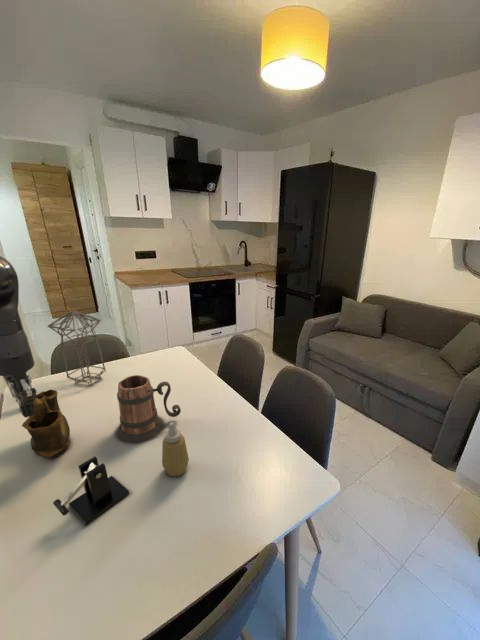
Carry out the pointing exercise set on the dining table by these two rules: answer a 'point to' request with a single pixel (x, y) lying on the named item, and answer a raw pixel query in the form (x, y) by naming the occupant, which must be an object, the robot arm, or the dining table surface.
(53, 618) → the dining table surface
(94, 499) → the bracket
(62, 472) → the dining table surface
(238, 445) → the dining table surface
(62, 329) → the geometric lantern
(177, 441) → the squeeze bottle
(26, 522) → the dining table surface
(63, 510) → the lever
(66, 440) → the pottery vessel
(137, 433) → the tankard
